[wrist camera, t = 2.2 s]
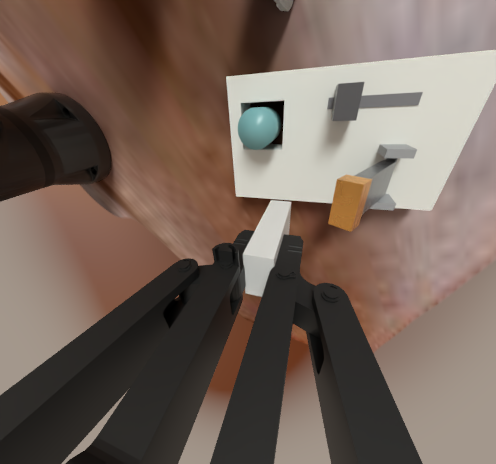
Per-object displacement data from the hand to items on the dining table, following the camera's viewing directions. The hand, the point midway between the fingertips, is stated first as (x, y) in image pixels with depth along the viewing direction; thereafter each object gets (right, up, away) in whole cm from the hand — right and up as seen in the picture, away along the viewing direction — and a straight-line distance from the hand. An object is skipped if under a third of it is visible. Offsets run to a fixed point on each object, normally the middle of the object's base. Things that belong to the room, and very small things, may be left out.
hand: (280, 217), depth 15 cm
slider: (+7, +12, +5) cm, 15 cm away
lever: (+13, +5, +7) cm, 15 cm away
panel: (+8, +11, +11) cm, 17 cm away
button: (0, +12, +10) cm, 16 cm away
